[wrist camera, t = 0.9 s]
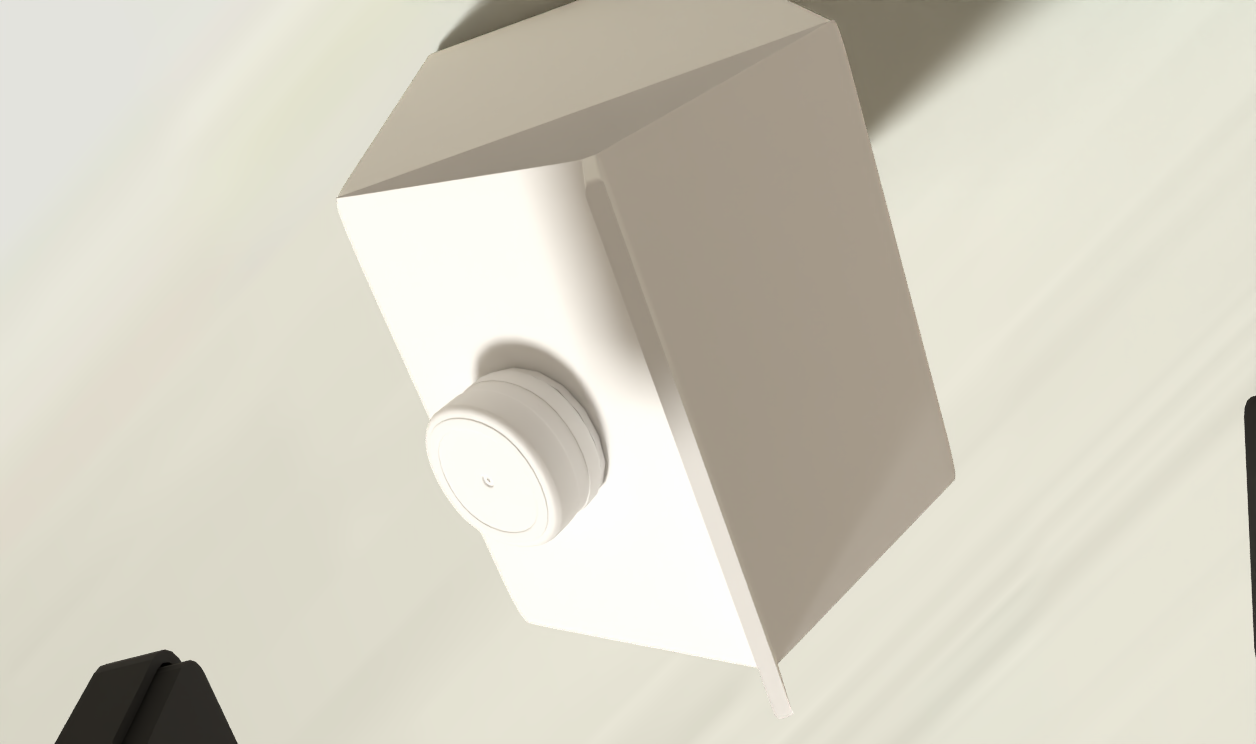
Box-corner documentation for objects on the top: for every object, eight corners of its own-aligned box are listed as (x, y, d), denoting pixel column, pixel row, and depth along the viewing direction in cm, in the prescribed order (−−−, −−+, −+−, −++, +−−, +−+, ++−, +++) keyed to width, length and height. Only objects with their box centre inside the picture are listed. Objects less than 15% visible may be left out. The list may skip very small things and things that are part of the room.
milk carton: (697, -46, 29) (932, 60, 12) (778, 220, 32) (1067, 629, 14) (426, 53, 30) (262, 297, 12) (527, 307, 32) (512, 807, 15)
